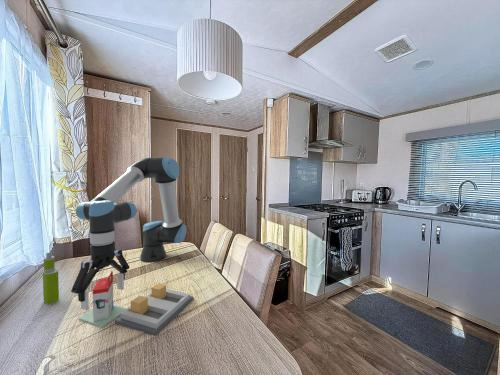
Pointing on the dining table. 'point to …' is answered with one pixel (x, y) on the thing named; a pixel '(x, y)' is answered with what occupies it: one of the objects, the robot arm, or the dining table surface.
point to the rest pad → (101, 323)
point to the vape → (50, 280)
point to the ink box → (103, 298)
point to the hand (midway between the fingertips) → (104, 298)
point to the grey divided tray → (156, 313)
